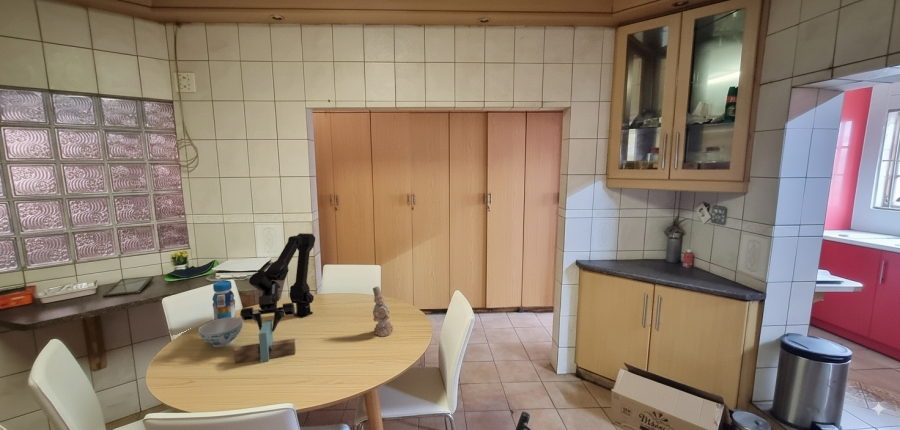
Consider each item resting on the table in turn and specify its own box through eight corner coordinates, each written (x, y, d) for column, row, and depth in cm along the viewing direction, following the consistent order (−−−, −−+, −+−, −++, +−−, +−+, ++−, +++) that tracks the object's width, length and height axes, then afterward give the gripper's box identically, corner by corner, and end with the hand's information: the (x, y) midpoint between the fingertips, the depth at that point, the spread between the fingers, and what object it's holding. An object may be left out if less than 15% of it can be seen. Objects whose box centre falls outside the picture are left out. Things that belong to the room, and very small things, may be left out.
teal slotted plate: (266, 346, 139) (264, 320, 138) (273, 345, 140) (271, 319, 139) (260, 362, 128) (258, 333, 126) (268, 361, 129) (266, 332, 127)
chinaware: (252, 338, 146) (251, 321, 145) (215, 356, 132) (213, 336, 131) (229, 331, 152) (227, 314, 151) (191, 347, 139) (189, 329, 137)
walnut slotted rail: (234, 363, 127) (233, 350, 126) (236, 359, 130) (235, 346, 129) (294, 354, 133) (294, 342, 133) (295, 350, 136) (294, 338, 136)
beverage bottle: (210, 327, 156) (206, 284, 153) (228, 320, 163) (224, 278, 161) (223, 331, 153) (219, 286, 150) (241, 323, 160) (237, 280, 158)
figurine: (373, 328, 155) (371, 284, 152) (392, 326, 156) (391, 283, 154) (373, 338, 146) (371, 291, 143) (394, 336, 148) (392, 290, 145)
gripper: (239, 288, 135) (234, 328, 126) (292, 283, 141) (290, 321, 132) (245, 300, 143) (241, 338, 134) (295, 295, 149) (294, 331, 140)
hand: (267, 332), depth 135 cm, fingers open, 4 cm apart
